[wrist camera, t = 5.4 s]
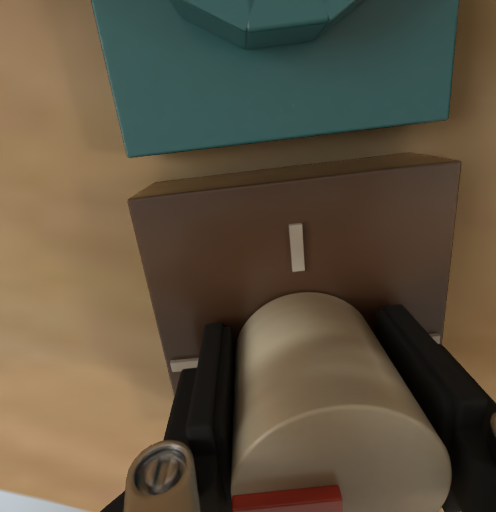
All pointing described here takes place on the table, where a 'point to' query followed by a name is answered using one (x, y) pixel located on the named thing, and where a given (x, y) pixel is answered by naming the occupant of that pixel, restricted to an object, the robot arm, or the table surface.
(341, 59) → the button block
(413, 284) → the dial panel
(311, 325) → the dial
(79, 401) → the table surface
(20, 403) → the table surface
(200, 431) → the robot arm
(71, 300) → the table surface
